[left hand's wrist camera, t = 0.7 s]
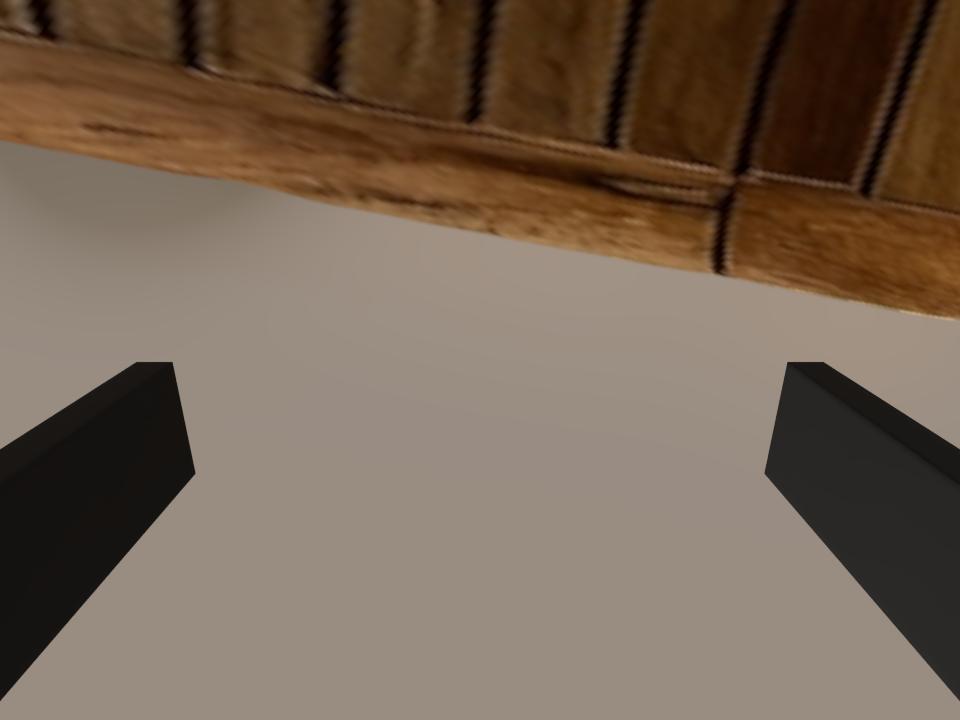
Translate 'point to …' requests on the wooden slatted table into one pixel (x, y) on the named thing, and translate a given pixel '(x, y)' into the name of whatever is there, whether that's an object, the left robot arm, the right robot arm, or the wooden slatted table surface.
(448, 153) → the wooden slatted table surface
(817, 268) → the wooden slatted table surface
